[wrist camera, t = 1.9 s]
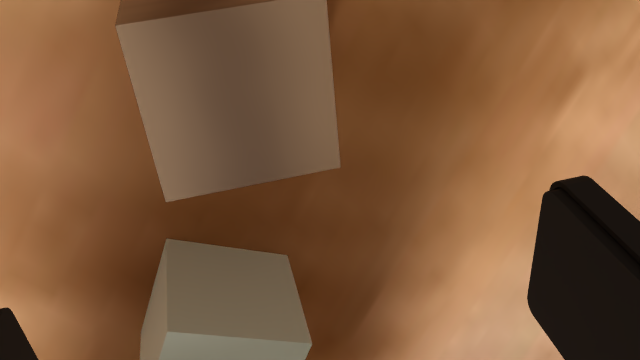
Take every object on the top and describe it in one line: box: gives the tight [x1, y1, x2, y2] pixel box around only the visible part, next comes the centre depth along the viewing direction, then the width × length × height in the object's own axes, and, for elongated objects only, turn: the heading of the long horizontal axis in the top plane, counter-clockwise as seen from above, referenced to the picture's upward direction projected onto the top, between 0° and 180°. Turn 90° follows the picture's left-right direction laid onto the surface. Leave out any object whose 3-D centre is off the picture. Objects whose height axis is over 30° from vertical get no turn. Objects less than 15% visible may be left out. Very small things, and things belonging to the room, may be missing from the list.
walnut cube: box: [115, 0, 341, 202], centre depth 21 cm, size 6×6×6 cm
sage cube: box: [140, 239, 312, 360], centre depth 27 cm, size 6×6×6 cm
